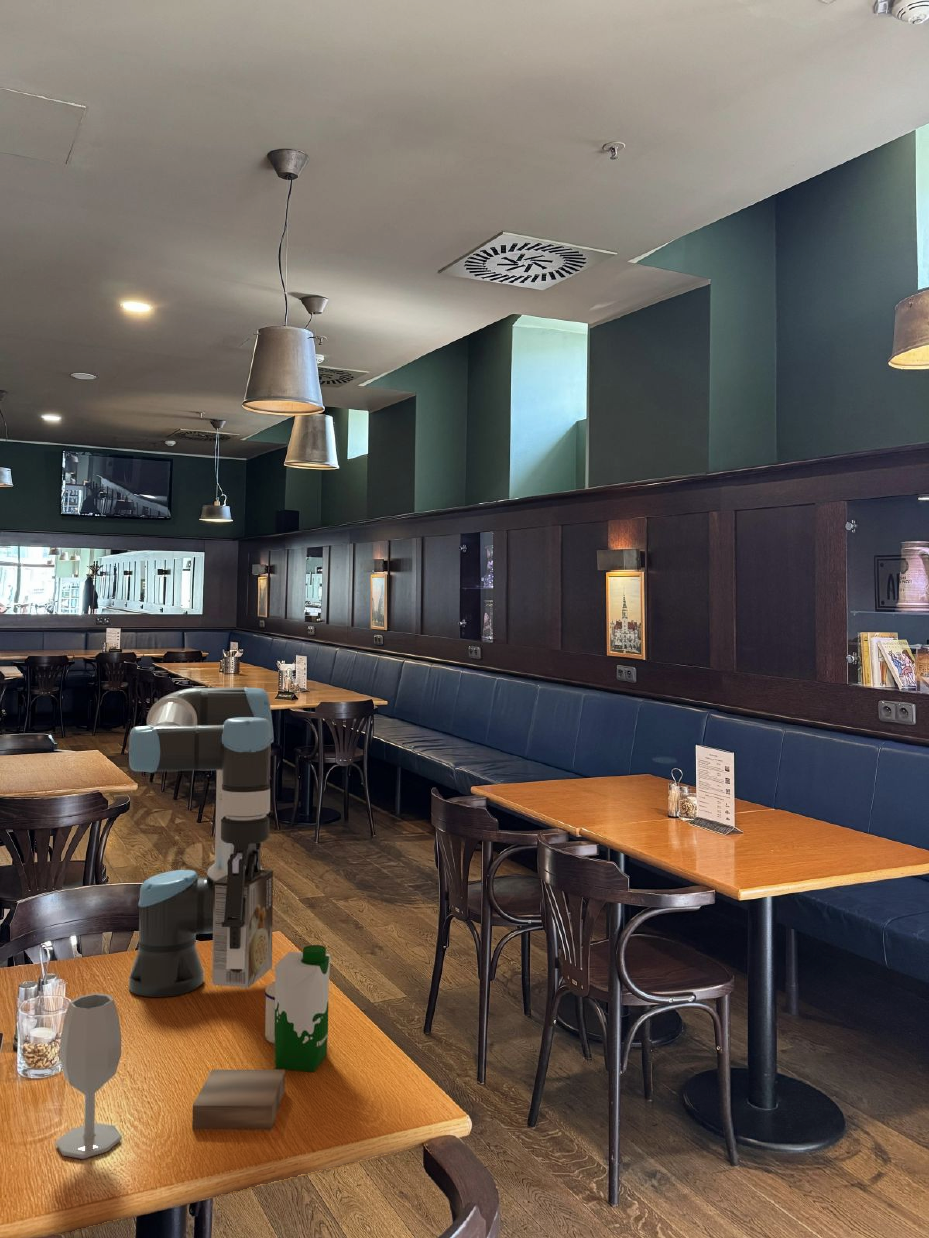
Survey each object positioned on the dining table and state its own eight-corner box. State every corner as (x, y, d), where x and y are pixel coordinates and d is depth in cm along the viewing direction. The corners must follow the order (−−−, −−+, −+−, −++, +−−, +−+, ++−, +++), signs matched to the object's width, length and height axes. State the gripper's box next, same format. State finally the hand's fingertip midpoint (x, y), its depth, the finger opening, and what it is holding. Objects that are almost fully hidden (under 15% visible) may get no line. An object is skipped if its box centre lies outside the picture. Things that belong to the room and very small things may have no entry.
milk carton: (317, 1075, 164) (319, 957, 164) (267, 1070, 165) (269, 954, 166) (333, 1052, 172) (335, 941, 173) (285, 1048, 174) (287, 938, 174)
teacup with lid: (312, 1045, 175) (313, 981, 176) (261, 1047, 174) (262, 983, 175) (315, 1019, 187) (316, 959, 187) (267, 1020, 186) (268, 960, 186)
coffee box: (236, 965, 157) (238, 867, 157) (273, 968, 156) (274, 869, 156) (210, 985, 148) (212, 880, 148) (249, 988, 147) (251, 883, 147)
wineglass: (44, 1147, 140) (47, 1003, 140) (96, 1122, 147) (99, 985, 147) (80, 1166, 135) (83, 1017, 135) (133, 1140, 142) (135, 998, 143)
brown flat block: (211, 1093, 158) (212, 1069, 158) (284, 1094, 158) (285, 1069, 158) (192, 1131, 146) (192, 1105, 146) (271, 1132, 146) (271, 1105, 146)
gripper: (237, 802, 163) (234, 934, 163) (204, 829, 141) (201, 982, 141) (281, 803, 164) (279, 934, 163) (255, 830, 141) (252, 982, 141)
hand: (243, 956), depth 152 cm, fingers closed on coffee box, 10 cm apart
